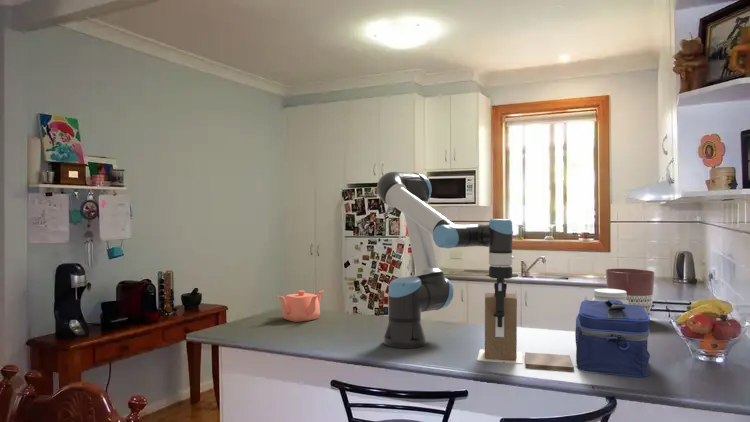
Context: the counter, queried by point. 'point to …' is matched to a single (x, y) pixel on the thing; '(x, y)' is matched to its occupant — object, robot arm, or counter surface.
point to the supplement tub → (610, 295)
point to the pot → (301, 306)
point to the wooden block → (508, 344)
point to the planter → (633, 285)
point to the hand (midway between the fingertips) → (500, 333)
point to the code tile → (482, 358)
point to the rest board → (549, 361)
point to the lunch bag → (612, 338)
